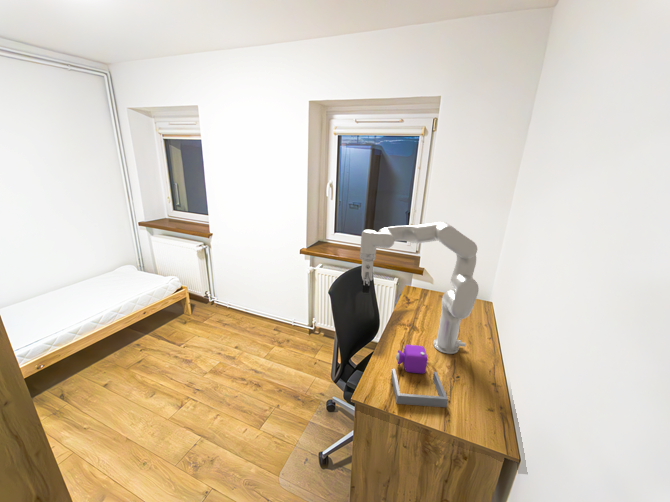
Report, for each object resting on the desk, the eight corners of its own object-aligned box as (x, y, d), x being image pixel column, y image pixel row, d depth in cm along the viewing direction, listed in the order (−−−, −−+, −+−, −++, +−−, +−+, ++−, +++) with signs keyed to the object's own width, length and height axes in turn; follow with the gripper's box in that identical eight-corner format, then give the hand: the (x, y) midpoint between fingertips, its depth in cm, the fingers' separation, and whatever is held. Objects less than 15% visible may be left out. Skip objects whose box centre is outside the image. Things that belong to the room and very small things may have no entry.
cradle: (435, 379, 126) (436, 371, 125) (446, 407, 111) (448, 399, 110) (391, 376, 127) (392, 368, 125) (396, 403, 112) (397, 395, 111)
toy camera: (392, 359, 138) (394, 342, 135) (420, 359, 139) (422, 341, 136) (399, 375, 127) (401, 356, 124) (428, 375, 128) (431, 356, 126)
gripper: (377, 262, 129) (374, 296, 134) (374, 250, 145) (371, 281, 150) (360, 261, 129) (358, 295, 134) (359, 250, 145) (357, 281, 150)
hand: (365, 288), depth 142 cm, fingers open, 9 cm apart
